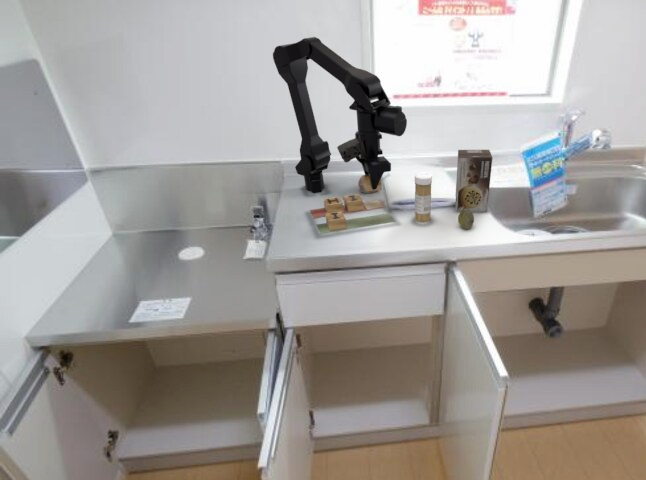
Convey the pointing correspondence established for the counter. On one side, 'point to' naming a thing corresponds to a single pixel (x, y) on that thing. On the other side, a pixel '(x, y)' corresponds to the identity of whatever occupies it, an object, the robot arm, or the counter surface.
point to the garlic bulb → (363, 187)
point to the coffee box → (473, 180)
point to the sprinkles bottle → (423, 196)
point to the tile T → (369, 183)
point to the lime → (466, 219)
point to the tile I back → (353, 202)
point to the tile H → (333, 205)
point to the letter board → (356, 221)
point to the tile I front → (336, 221)
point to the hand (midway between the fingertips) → (371, 186)
